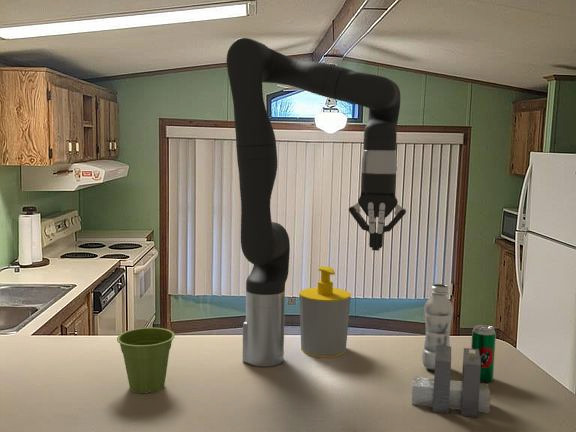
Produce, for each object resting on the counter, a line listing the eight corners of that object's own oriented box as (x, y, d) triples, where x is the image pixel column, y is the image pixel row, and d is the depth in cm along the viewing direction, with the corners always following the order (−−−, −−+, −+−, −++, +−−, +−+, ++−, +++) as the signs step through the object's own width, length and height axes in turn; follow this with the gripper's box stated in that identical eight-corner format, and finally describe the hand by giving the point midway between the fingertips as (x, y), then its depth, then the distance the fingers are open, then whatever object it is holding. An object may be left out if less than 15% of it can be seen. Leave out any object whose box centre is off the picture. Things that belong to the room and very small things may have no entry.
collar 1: (432, 411, 119) (435, 360, 118) (434, 392, 128) (436, 345, 127) (448, 413, 118) (451, 362, 117) (448, 394, 127) (451, 346, 126)
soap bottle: (314, 361, 145) (316, 275, 142) (289, 345, 156) (290, 265, 154) (359, 353, 151) (362, 270, 148) (332, 338, 162) (334, 261, 160)
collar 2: (461, 415, 117) (464, 358, 116) (461, 396, 126) (464, 343, 125) (477, 417, 117) (481, 360, 115) (476, 398, 126) (479, 344, 124)
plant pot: (123, 377, 133) (122, 327, 132) (177, 376, 135) (177, 327, 133) (112, 399, 122) (111, 345, 120) (172, 398, 123) (171, 344, 121)
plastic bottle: (451, 375, 138) (456, 290, 135) (421, 372, 139) (425, 288, 137) (450, 365, 144) (454, 283, 142) (421, 363, 145) (424, 281, 143)
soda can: (497, 380, 135) (501, 328, 134) (482, 385, 133) (485, 332, 131) (480, 373, 140) (483, 322, 138) (464, 377, 137) (467, 325, 136)
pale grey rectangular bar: (411, 404, 122) (412, 385, 122) (412, 394, 127) (412, 376, 126) (489, 413, 119) (490, 393, 118) (486, 402, 124) (487, 383, 123)
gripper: (345, 171, 129) (343, 250, 131) (408, 173, 126) (405, 254, 128) (351, 169, 136) (349, 245, 138) (410, 171, 133) (407, 249, 135)
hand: (376, 249), depth 133 cm, fingers closed
